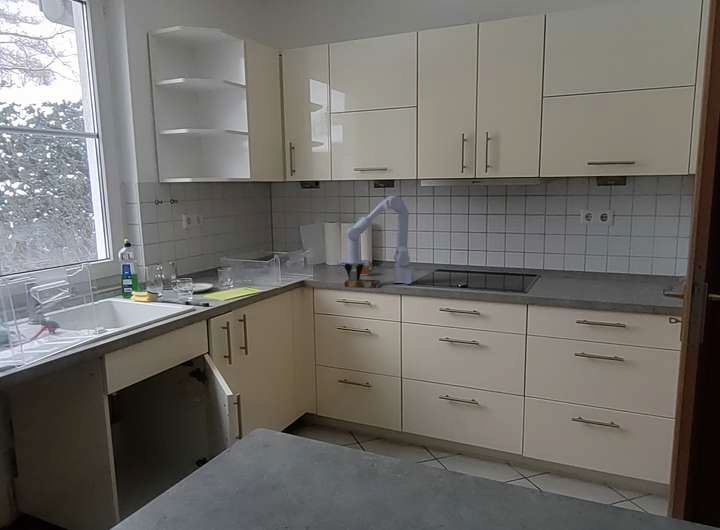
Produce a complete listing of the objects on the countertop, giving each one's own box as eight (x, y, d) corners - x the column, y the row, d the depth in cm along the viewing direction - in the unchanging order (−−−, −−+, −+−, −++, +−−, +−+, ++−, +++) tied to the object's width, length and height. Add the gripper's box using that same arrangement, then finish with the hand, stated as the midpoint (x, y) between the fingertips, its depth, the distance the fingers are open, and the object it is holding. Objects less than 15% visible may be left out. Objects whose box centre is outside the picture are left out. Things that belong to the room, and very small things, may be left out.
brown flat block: (379, 284, 259) (379, 279, 258) (375, 288, 252) (375, 282, 251) (349, 283, 263) (348, 278, 263) (344, 286, 256) (344, 281, 256)
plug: (359, 283, 260) (358, 269, 259) (356, 285, 257) (356, 270, 255) (352, 283, 261) (351, 268, 260) (350, 285, 258) (349, 270, 256)
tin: (346, 275, 285) (345, 260, 283) (347, 274, 288) (347, 259, 286) (372, 276, 281) (372, 260, 280) (374, 274, 284) (373, 259, 283)
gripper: (337, 253, 254) (337, 280, 256) (365, 253, 250) (366, 281, 252) (341, 250, 261) (342, 277, 263) (369, 251, 257) (370, 278, 259)
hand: (354, 279), depth 258 cm, fingers closed on plug, 4 cm apart
